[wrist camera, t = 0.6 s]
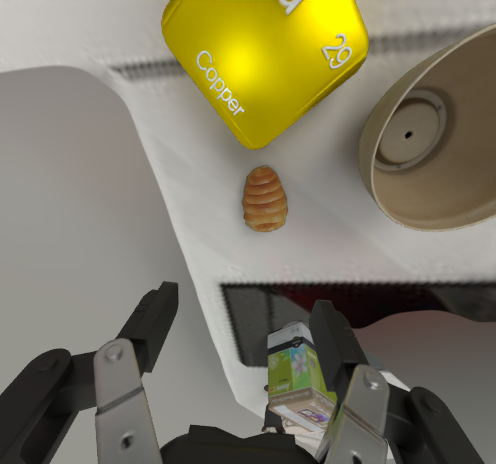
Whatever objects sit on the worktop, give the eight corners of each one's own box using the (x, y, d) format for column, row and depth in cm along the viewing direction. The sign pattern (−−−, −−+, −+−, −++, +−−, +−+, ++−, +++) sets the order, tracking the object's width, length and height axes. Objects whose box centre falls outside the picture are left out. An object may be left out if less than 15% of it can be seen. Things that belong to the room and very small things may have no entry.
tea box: (265, 334, 51) (266, 410, 38) (301, 319, 47) (314, 398, 35) (299, 361, 56) (310, 435, 44) (333, 350, 53) (355, 427, 40)
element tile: (168, 37, 23) (148, 23, 19) (283, -117, 17) (290, -184, 13) (252, 151, 29) (251, 159, 25) (359, 62, 23) (380, 54, 19)
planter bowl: (500, 128, 25) (634, 144, 16) (376, 213, 32) (421, 257, 23) (443, 3, 20) (593, -79, 11) (310, 135, 27) (334, 152, 18)
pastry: (237, 168, 30) (234, 175, 27) (285, 162, 29) (288, 169, 26) (246, 224, 35) (245, 237, 32) (287, 220, 34) (290, 233, 31)
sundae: (261, 392, 68) (261, 459, 55) (261, 382, 64) (261, 452, 52) (282, 393, 67) (287, 461, 55) (283, 383, 64) (288, 453, 51)
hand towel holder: (297, 446, 82) (268, 430, 73) (296, 431, 85) (268, 414, 77) (339, 442, 76) (312, 423, 67) (335, 426, 79) (309, 406, 71)
